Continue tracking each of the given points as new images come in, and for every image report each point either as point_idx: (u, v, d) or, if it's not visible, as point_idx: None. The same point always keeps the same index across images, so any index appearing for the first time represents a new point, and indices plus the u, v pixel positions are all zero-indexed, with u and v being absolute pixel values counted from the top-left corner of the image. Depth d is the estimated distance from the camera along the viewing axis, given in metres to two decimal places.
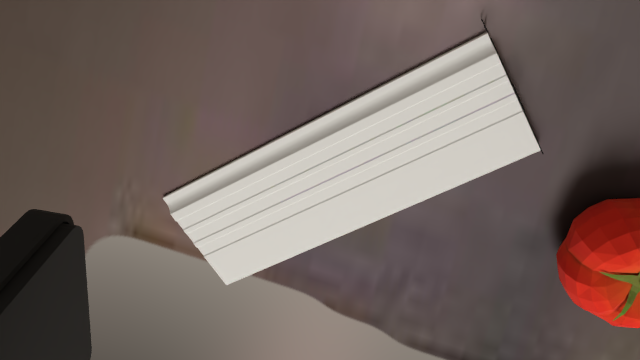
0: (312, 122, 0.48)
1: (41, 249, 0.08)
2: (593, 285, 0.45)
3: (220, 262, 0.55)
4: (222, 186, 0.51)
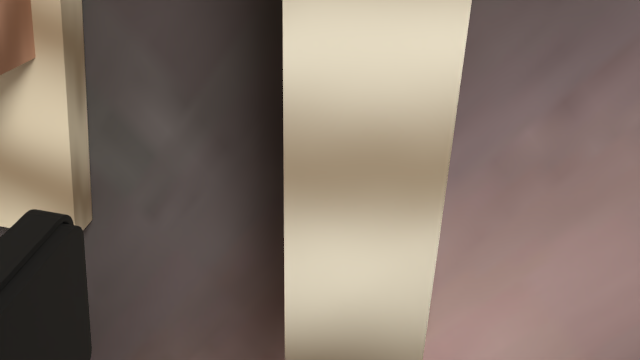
0: None
1: (41, 249, 0.08)
2: None
3: None
4: None
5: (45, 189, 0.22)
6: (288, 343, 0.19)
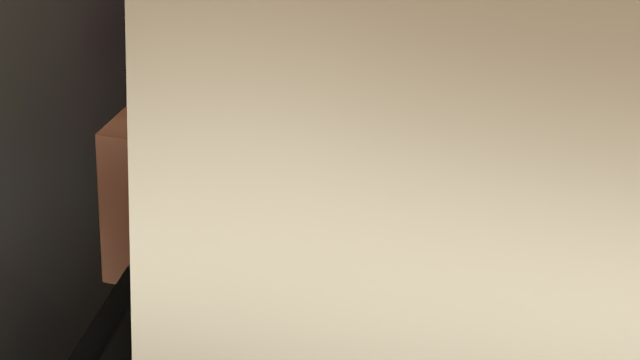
0: None
1: None
2: None
3: None
4: None
5: None
6: None
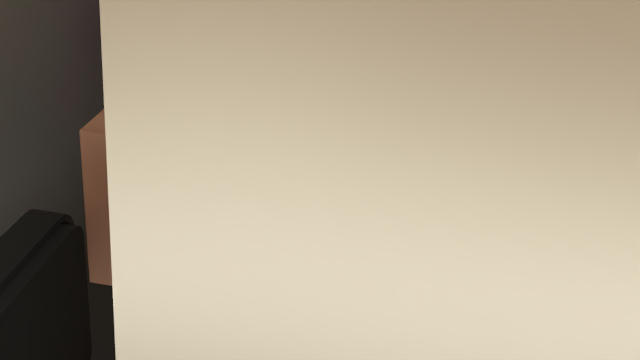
0: None
1: (41, 249, 0.08)
2: None
3: None
4: None
5: None
6: None
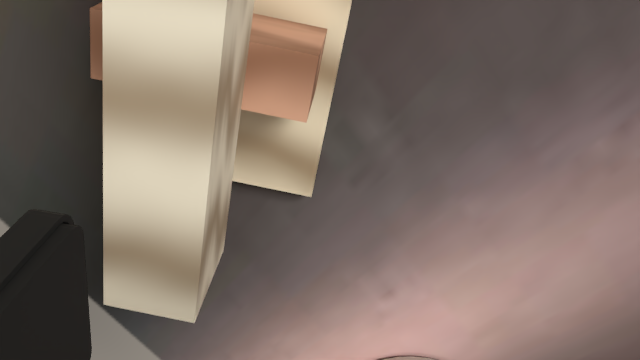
0: None
1: (41, 249, 0.08)
2: None
3: None
4: None
5: (300, 165, 0.36)
6: (105, 227, 0.26)
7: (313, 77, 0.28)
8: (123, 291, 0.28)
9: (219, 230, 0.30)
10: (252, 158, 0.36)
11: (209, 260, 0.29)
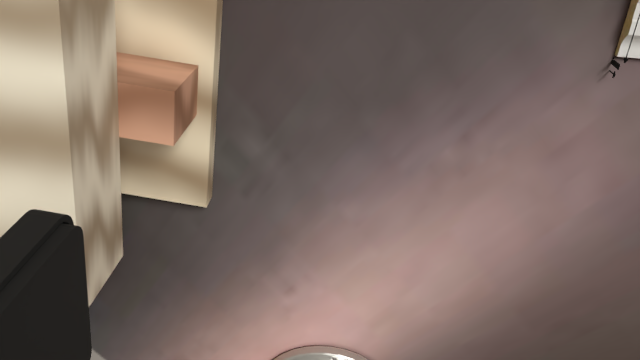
0: None
1: (41, 249, 0.08)
2: None
3: None
4: None
5: (193, 180, 0.42)
6: None
7: (173, 109, 0.34)
8: None
9: (108, 238, 0.36)
10: (152, 176, 0.42)
11: (96, 263, 0.35)
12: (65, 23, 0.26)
